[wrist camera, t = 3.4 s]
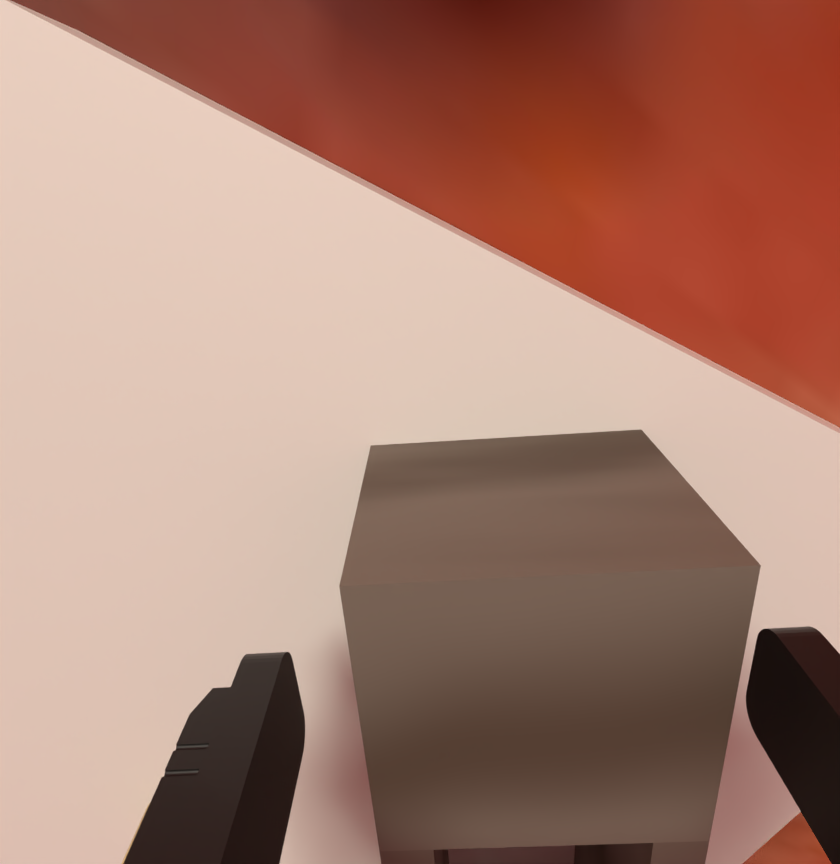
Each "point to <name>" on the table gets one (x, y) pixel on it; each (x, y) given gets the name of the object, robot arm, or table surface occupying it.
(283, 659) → the robot arm
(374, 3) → the table surface
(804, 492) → the wall plate
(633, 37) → the table surface
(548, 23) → the table surface
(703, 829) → the frame
